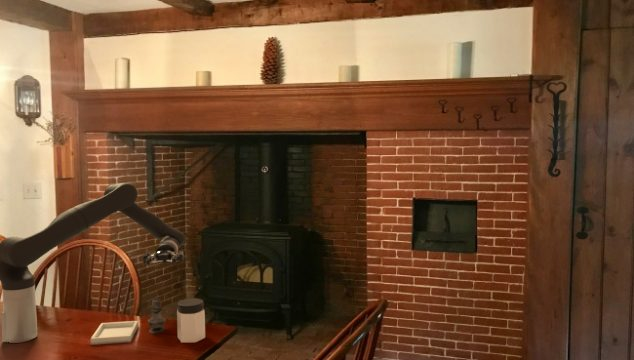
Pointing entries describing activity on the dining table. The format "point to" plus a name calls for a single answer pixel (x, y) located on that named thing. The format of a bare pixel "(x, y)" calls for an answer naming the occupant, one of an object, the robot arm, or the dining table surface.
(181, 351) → the dining table surface
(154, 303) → the salt shaker
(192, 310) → the jar
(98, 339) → the tray
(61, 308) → the dining table surface
